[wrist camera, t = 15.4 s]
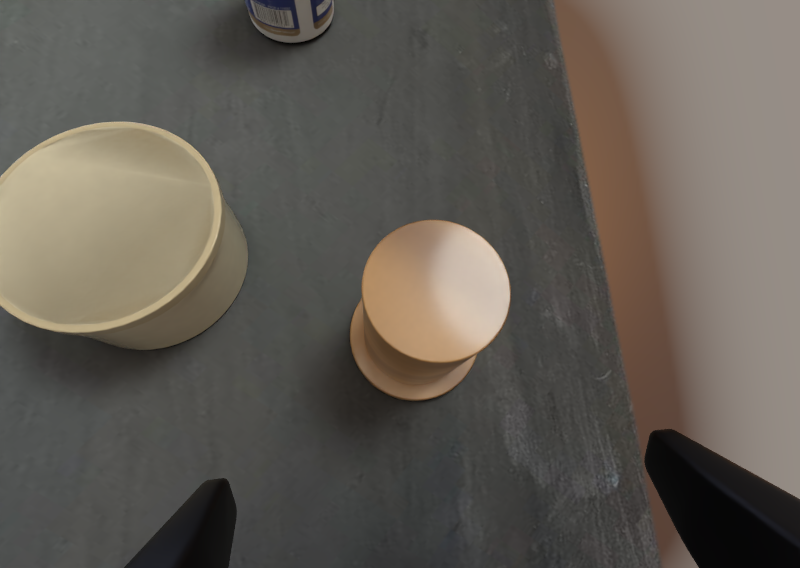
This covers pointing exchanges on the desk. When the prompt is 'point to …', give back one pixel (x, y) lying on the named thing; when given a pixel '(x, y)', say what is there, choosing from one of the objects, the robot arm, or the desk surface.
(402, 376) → the flanged wooden cylinder
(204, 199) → the cream ceramic pot
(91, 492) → the desk surface
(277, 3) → the pill bottle
